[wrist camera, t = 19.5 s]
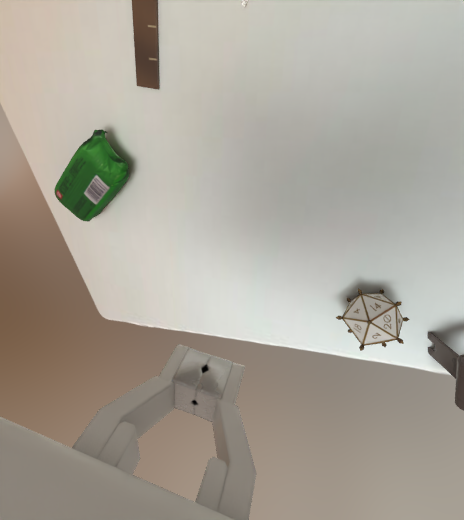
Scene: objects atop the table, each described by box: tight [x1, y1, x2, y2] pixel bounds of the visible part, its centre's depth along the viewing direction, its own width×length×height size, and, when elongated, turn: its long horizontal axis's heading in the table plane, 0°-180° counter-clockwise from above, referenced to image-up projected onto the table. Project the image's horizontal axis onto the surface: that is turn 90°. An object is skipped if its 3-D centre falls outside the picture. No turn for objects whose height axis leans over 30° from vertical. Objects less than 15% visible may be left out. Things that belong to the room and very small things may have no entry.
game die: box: [336, 289, 409, 351], centre depth 37 cm, size 9×8×10 cm
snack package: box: [55, 130, 129, 221], centre depth 40 cm, size 7×16×5 cm, turn 131°
